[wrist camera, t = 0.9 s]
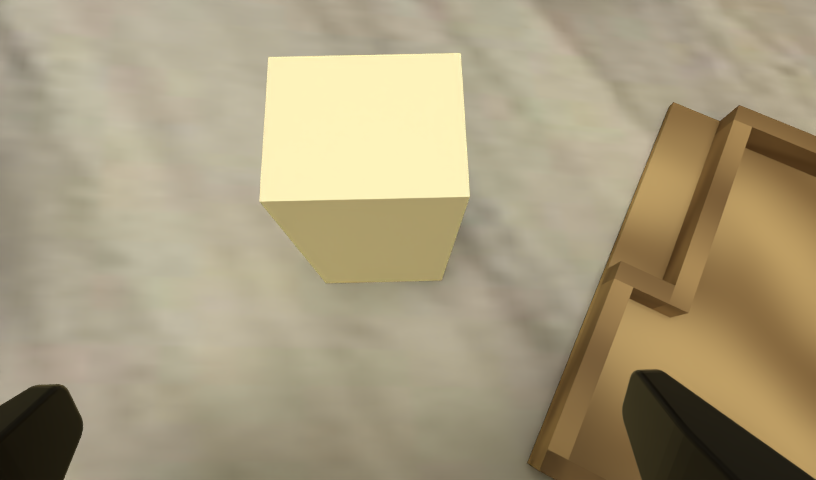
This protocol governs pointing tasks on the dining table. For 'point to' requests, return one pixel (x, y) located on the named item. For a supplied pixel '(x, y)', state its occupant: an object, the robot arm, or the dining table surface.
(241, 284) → the dining table surface
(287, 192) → the panel block
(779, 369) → the keyhole frame
